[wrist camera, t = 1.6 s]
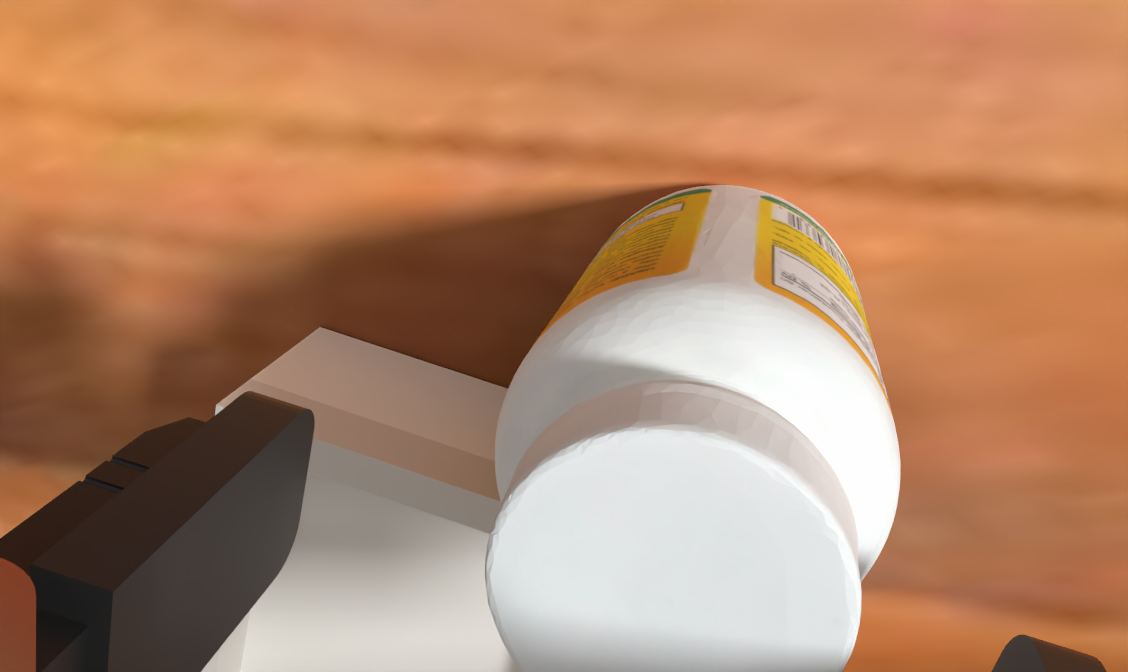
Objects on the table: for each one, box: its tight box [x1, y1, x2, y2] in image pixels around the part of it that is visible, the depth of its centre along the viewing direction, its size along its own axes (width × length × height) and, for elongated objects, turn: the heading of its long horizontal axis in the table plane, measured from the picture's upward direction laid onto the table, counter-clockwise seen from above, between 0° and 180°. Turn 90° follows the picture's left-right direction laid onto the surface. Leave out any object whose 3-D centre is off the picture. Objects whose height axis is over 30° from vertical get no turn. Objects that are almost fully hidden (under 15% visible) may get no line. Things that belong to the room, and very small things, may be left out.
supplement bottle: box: [485, 185, 900, 672], centre depth 14 cm, size 5×5×10 cm
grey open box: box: [201, 327, 522, 672], centre depth 20 cm, size 8×8×4 cm
